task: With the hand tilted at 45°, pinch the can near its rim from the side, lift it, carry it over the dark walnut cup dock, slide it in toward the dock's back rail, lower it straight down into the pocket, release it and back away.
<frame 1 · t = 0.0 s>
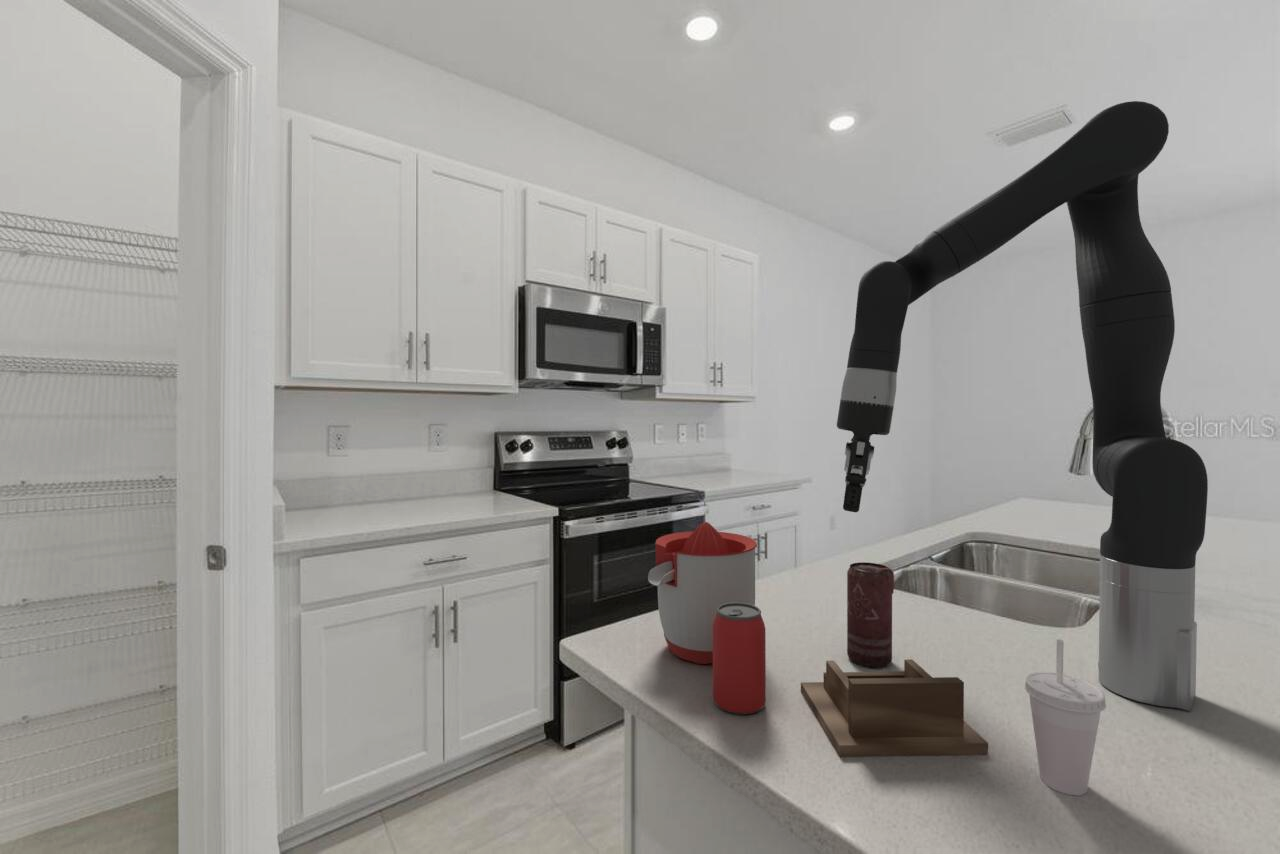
hand: (850, 506, 86), 22 cm above the countertop, tool pointing down, fingers open, 8 cm apart
can: (870, 661, 83), on the countertop
citrus juicer: (701, 651, 87), on the countertop
dock: (884, 719, 67), on the countertop
smoothie: (1063, 784, 56), on the countertop
beer can: (739, 704, 71), on the countertop
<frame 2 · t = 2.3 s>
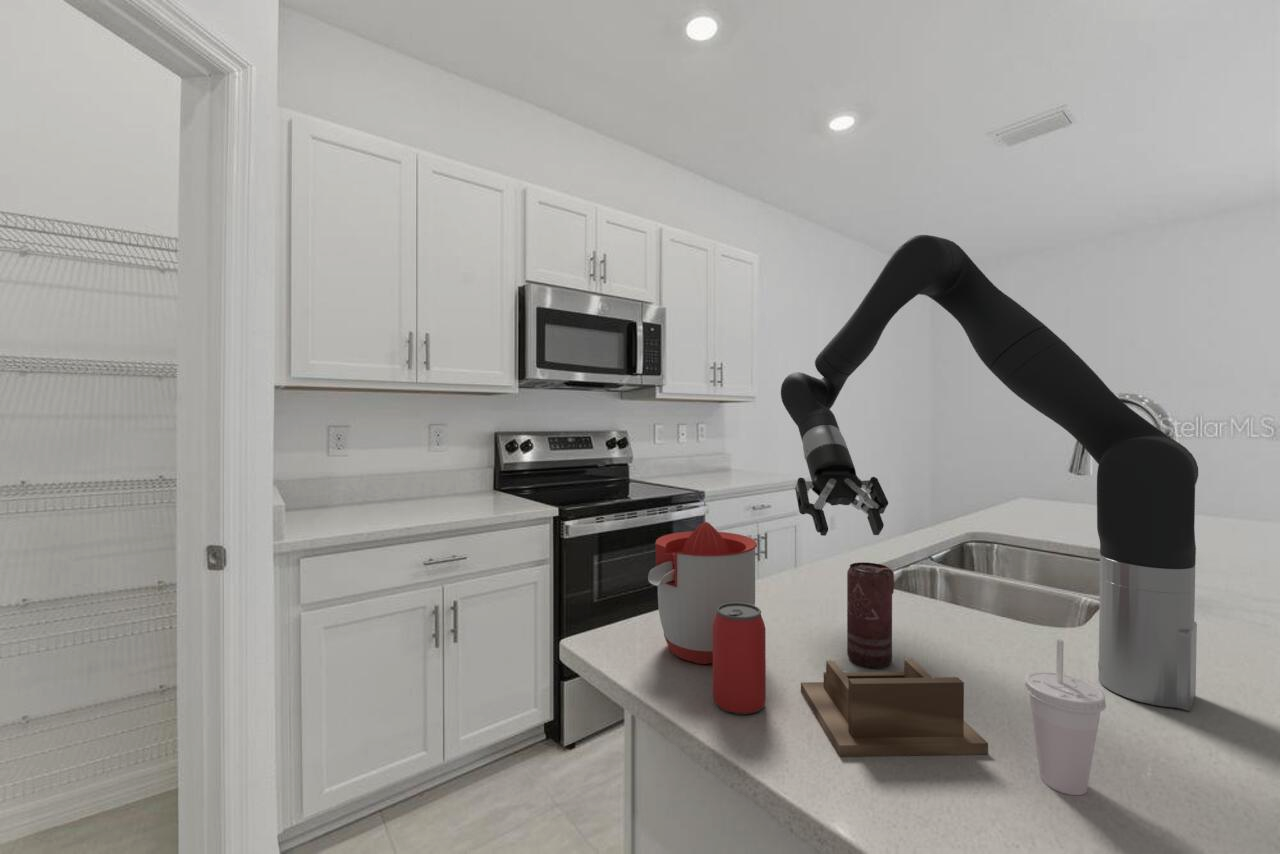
hand: (851, 532, 90), 17 cm above the countertop, tool tilted 45°, fingers open, 8 cm apart
nothing on the countertop moved.
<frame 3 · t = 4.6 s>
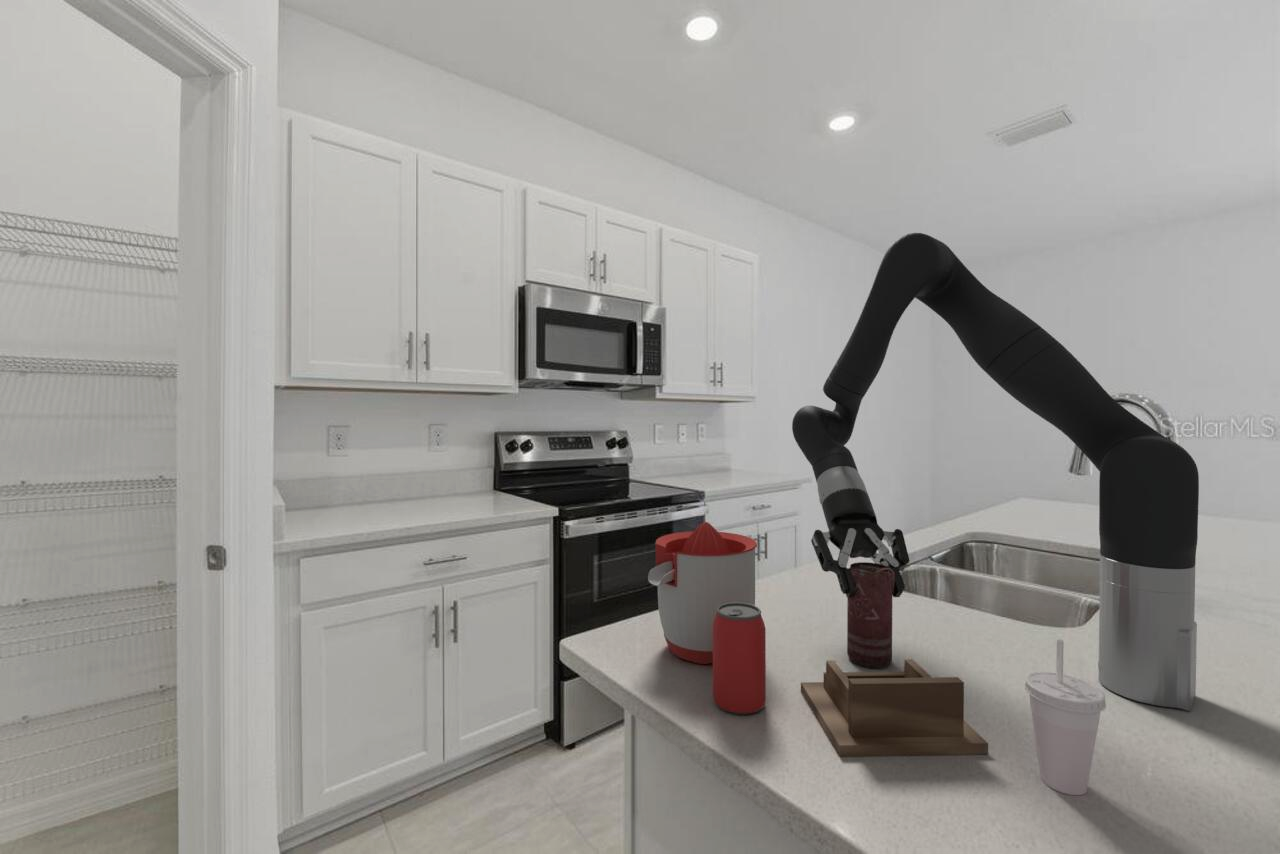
hand: (875, 594, 81), 10 cm above the countertop, tool tilted 45°, fingers closed on can, 6 cm apart
can: (870, 661, 83), on the countertop, touching gripper
everything else where it was.
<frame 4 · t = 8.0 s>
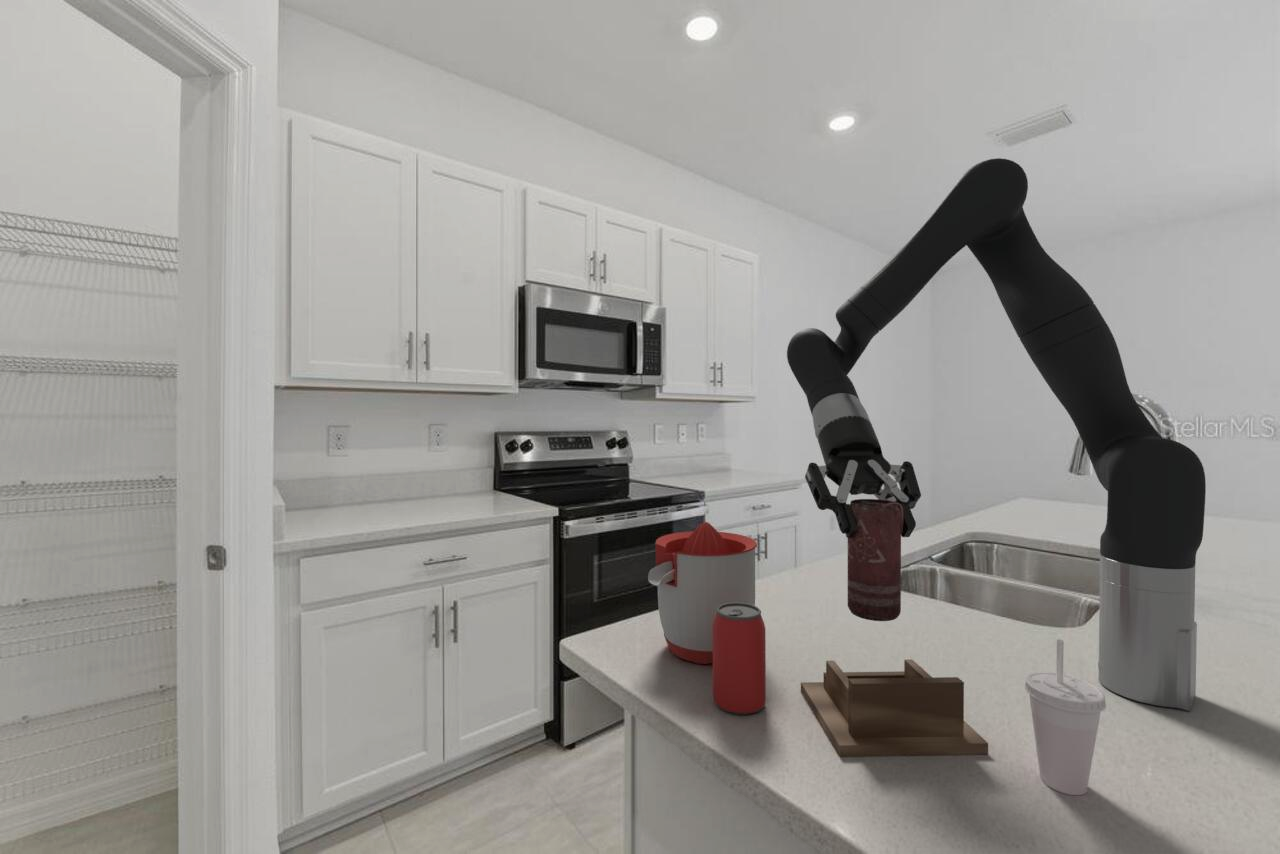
hand: (880, 533, 68), 22 cm above the countertop, tool tilted 45°, fingers closed on can, 6 cm apart
can: (874, 614, 70), point 11 cm above the countertop, touching gripper
everything else where it was.
when the fingers open (12 cm above the countertop, at t = 11.6 s): can stays where it is, resting on dock.
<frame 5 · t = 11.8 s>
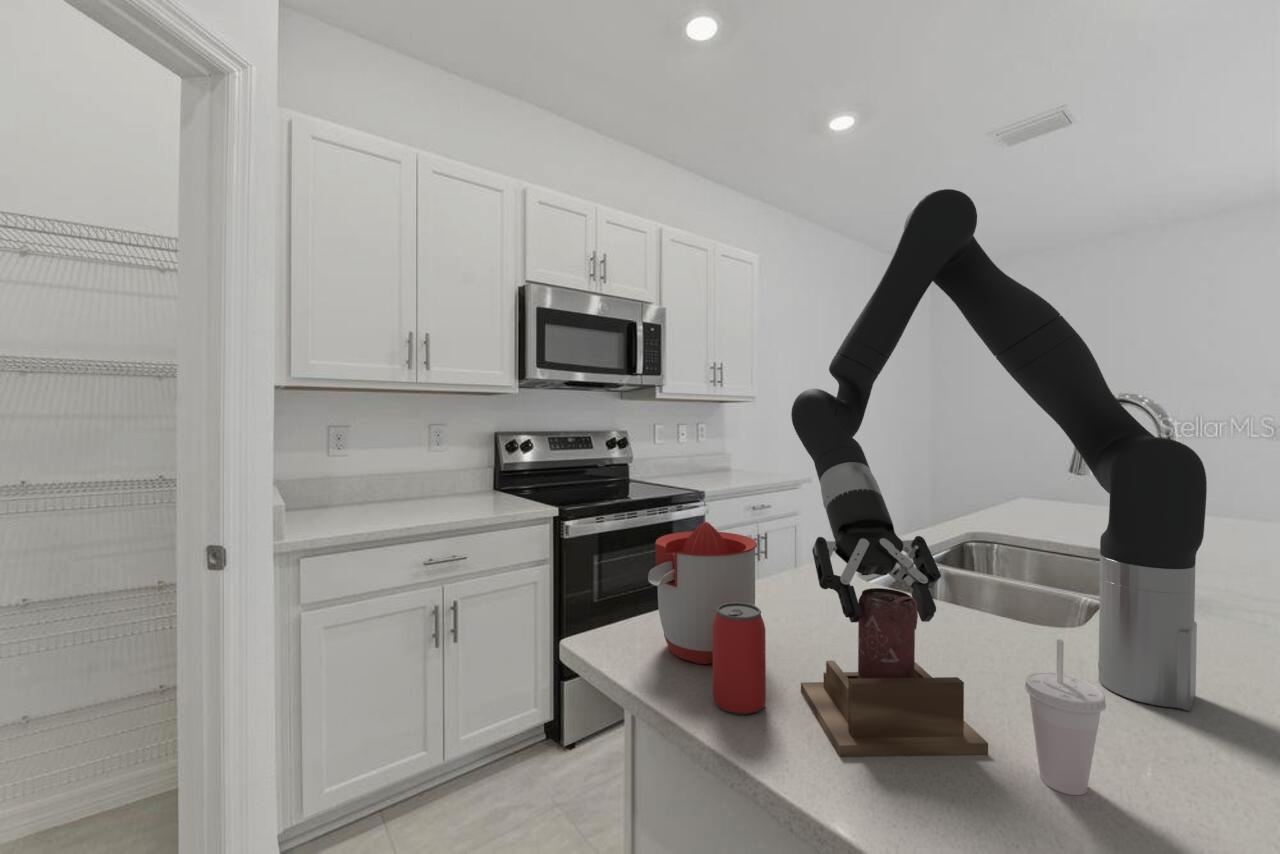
hand: (892, 619, 65), 13 cm above the countertop, tool tilted 45°, fingers open, 8 cm apart
can: (886, 712, 67), point 1 cm above the countertop, touching dock
everything else where it was.
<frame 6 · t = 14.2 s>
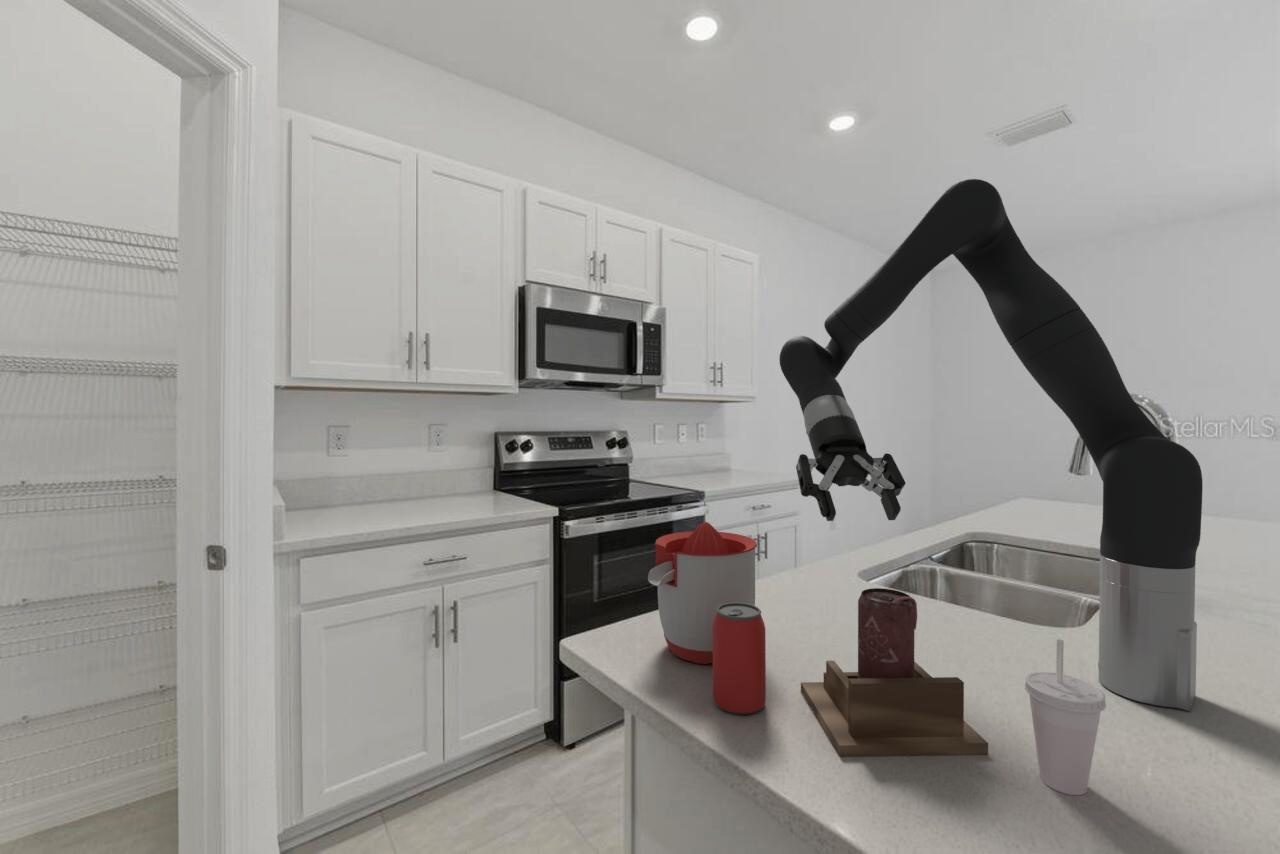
hand: (863, 517, 77), 22 cm above the countertop, tool tilted 45°, fingers open, 8 cm apart
nothing on the countertop moved.
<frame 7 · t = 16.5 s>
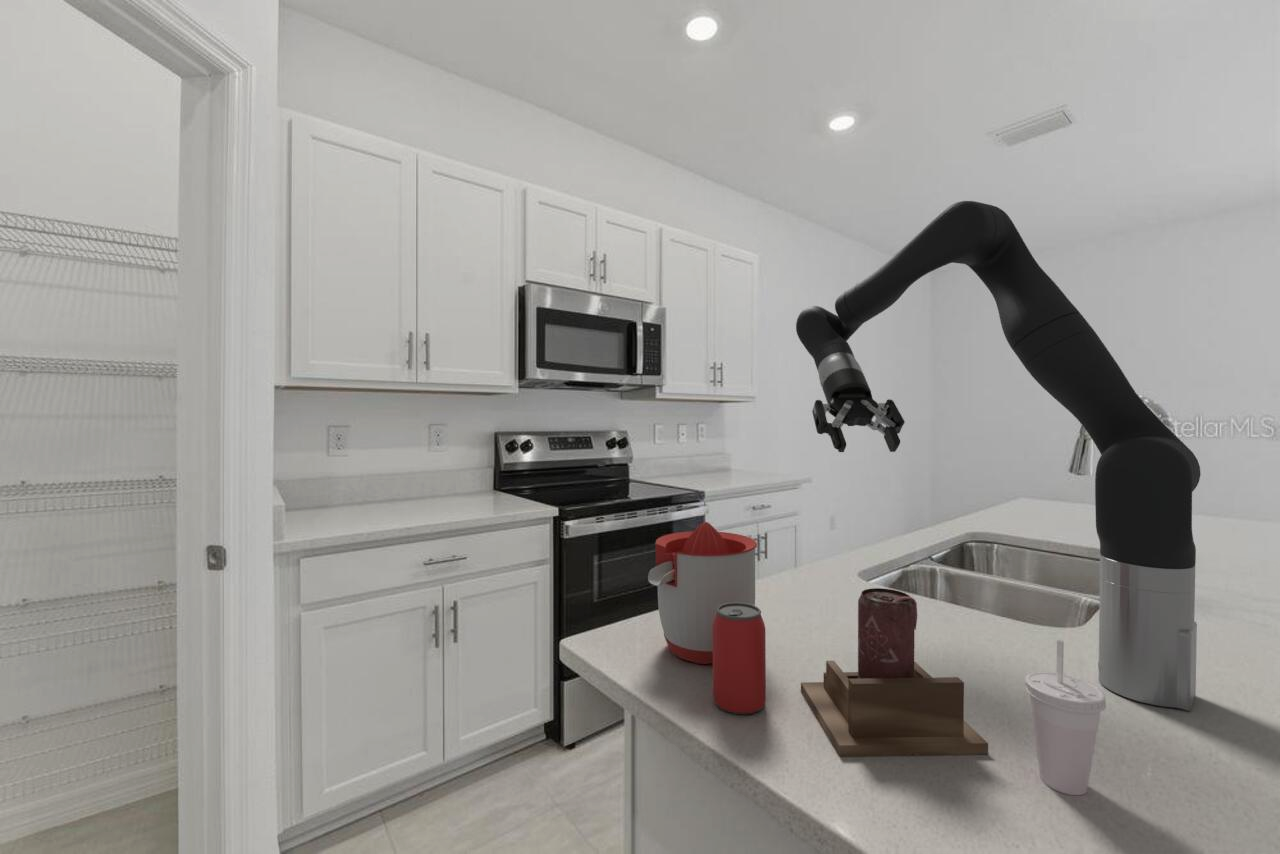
hand: (869, 448, 92), 31 cm above the countertop, tool tilted 45°, fingers open, 8 cm apart
nothing on the countertop moved.
at the end: can 0.4 cm off-centre on the dock, point 1.0 cm above the dock's base; can tilted 0°; the gripper is holding nothing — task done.
